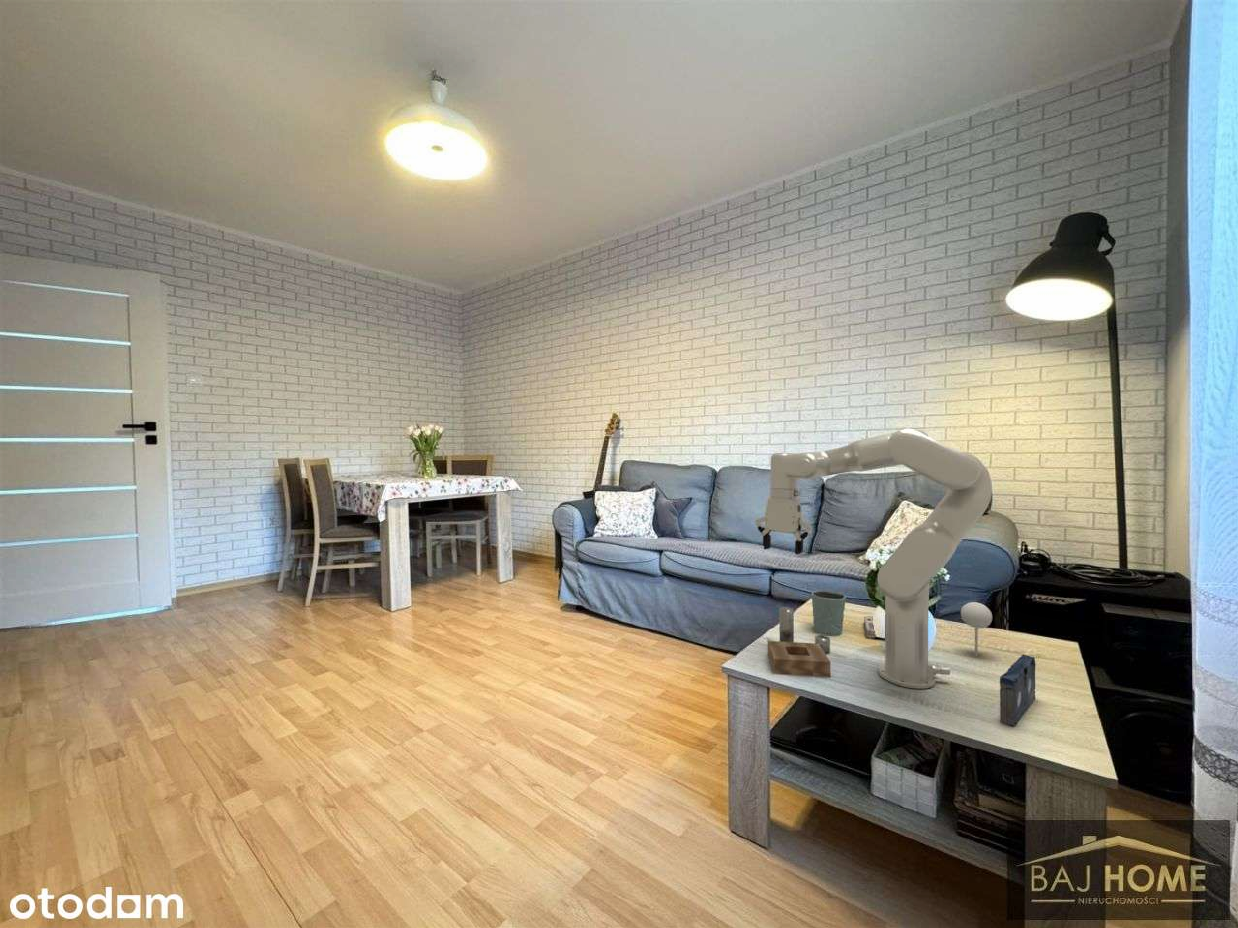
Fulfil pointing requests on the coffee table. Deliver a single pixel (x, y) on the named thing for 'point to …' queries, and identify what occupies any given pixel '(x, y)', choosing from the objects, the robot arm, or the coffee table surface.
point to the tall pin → (786, 624)
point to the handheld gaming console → (869, 627)
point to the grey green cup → (828, 612)
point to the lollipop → (976, 618)
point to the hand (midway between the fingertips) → (782, 551)
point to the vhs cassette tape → (1017, 690)
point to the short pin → (823, 643)
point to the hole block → (798, 659)
